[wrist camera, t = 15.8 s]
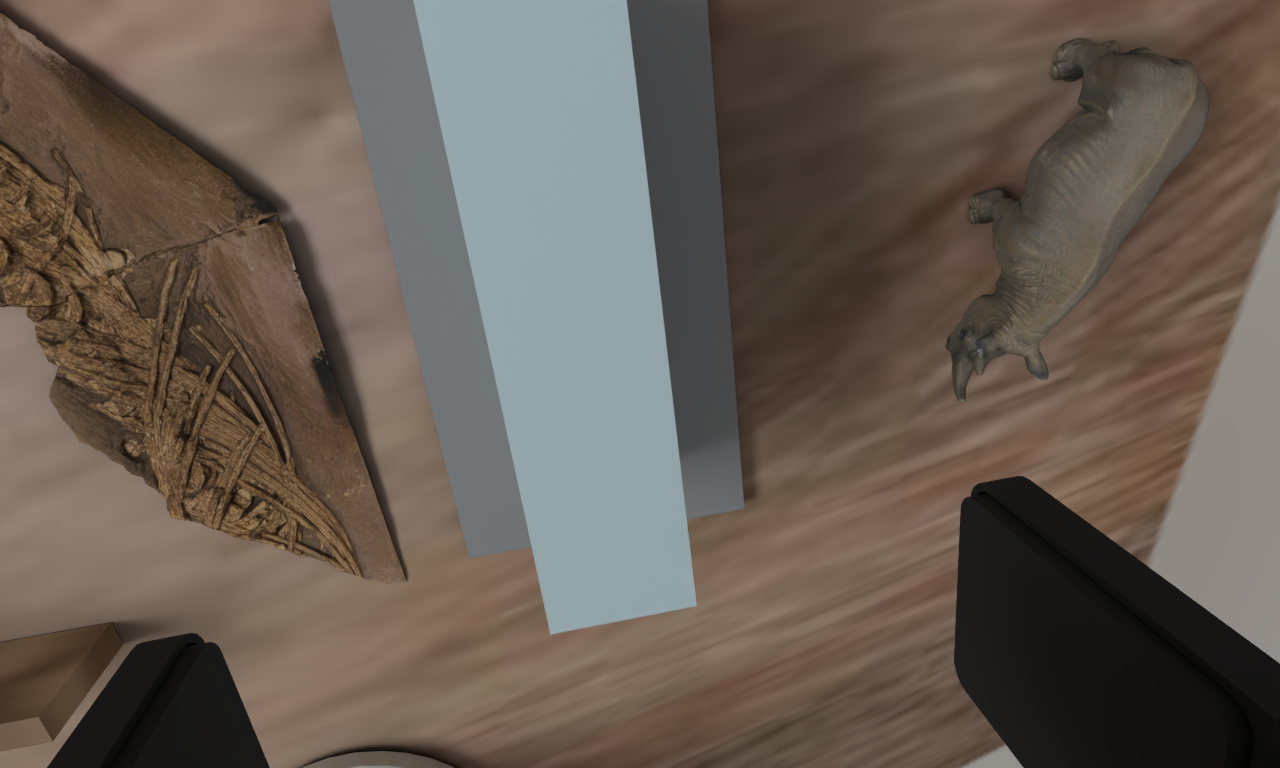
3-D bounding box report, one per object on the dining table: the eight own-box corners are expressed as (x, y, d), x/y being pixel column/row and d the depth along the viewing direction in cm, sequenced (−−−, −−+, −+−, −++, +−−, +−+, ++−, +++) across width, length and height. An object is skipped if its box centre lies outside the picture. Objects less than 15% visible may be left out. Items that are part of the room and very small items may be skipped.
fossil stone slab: (-243, 39, 22) (-279, 37, 21) (83, -116, 22) (62, -125, 21) (260, 636, 33) (252, 653, 32) (487, 537, 32) (486, 551, 31)
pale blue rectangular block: (587, -19, 24) (618, -74, 16) (651, 465, 31) (696, 606, 23) (447, -3, 23) (402, -48, 15) (544, 485, 30) (550, 634, 22)
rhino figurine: (877, 357, 31) (951, 416, 26) (1052, 24, 27) (1185, 9, 22) (955, 386, 32) (1043, 449, 27) (1135, 69, 28) (1283, 67, 23)
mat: (692, -142, 23) (696, -147, 23) (740, 501, 33) (744, 508, 32) (307, -101, 23) (302, -105, 22) (470, 550, 32) (469, 558, 31)
